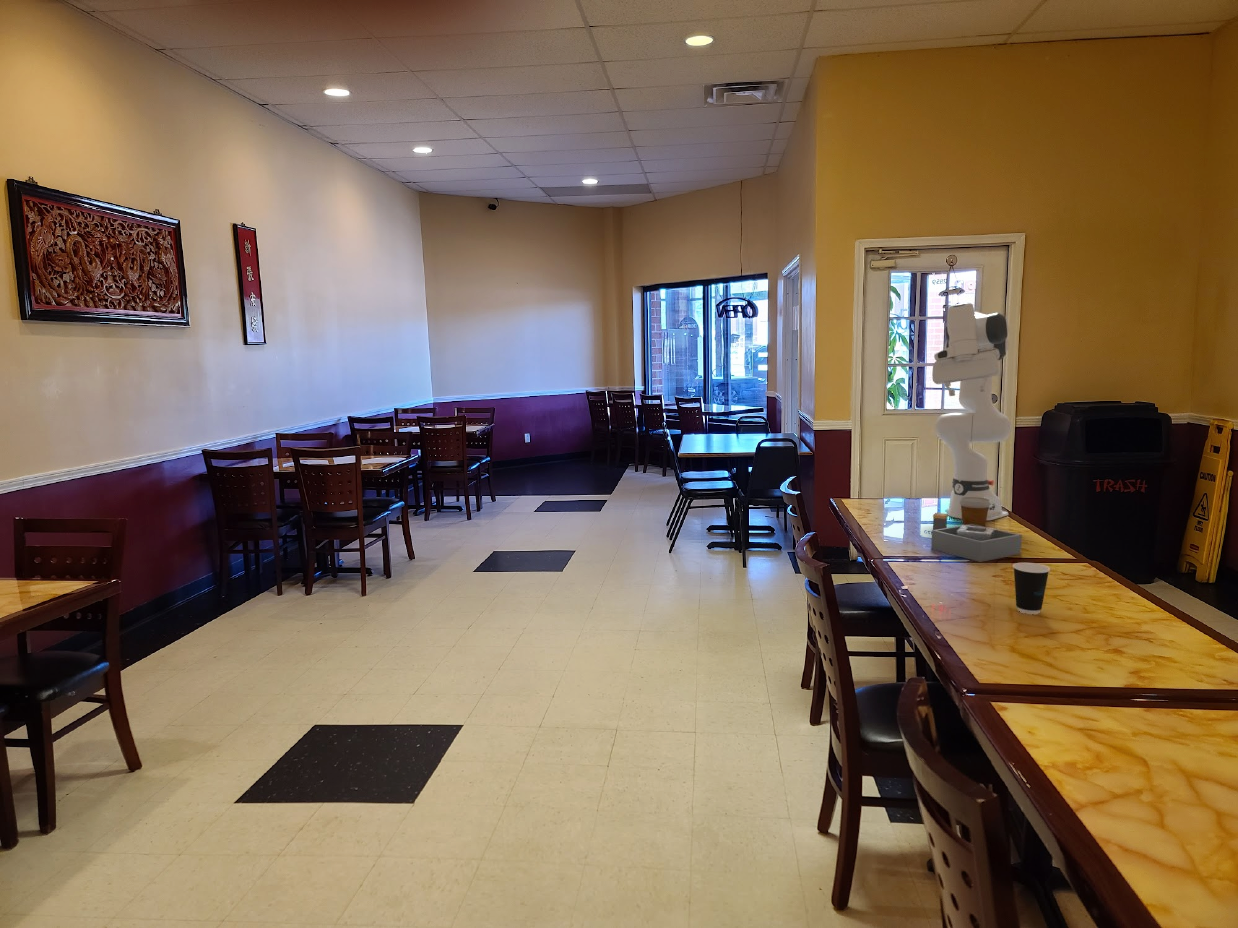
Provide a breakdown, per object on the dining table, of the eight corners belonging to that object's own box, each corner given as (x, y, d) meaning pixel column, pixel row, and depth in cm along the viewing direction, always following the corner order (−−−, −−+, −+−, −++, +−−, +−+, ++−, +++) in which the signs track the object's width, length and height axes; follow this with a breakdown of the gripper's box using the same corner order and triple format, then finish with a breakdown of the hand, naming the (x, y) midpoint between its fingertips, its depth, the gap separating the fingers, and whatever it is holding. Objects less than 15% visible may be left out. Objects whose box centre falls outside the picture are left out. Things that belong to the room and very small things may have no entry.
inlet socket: (961, 543, 246) (962, 524, 245) (994, 546, 241) (995, 528, 240) (956, 549, 238) (957, 530, 237) (989, 553, 233) (990, 534, 232)
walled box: (970, 541, 252) (971, 523, 251) (1020, 553, 236) (1021, 534, 235) (931, 548, 244) (931, 530, 243) (980, 561, 228) (981, 542, 227)
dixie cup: (1047, 618, 179) (1050, 573, 178) (1009, 613, 183) (1011, 568, 182) (1047, 608, 186) (1050, 564, 185) (1010, 603, 190) (1013, 560, 189)
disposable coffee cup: (993, 536, 257) (995, 501, 256) (965, 537, 258) (966, 502, 256) (981, 530, 267) (982, 496, 265) (953, 530, 267) (955, 496, 265)
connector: (934, 535, 260) (935, 512, 259) (946, 537, 258) (947, 513, 257) (932, 538, 257) (933, 514, 256) (944, 539, 255) (945, 515, 254)
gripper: (1001, 347, 246) (1004, 390, 245) (934, 358, 259) (937, 399, 257) (996, 344, 241) (1000, 387, 240) (929, 355, 254) (932, 396, 252)
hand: (967, 393), depth 249 cm, fingers open, 8 cm apart
